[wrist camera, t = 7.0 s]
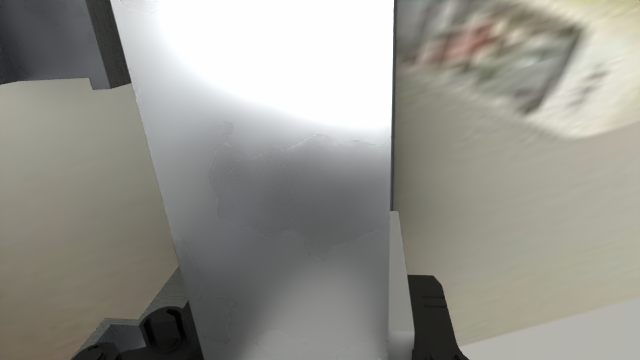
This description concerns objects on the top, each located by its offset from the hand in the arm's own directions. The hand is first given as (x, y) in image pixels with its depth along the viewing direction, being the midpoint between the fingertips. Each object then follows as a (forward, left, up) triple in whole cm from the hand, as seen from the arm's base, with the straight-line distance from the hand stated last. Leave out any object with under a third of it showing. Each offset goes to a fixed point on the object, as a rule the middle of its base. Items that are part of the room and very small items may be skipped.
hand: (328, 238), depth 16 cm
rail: (0, 0, +2) cm, 2 cm away
